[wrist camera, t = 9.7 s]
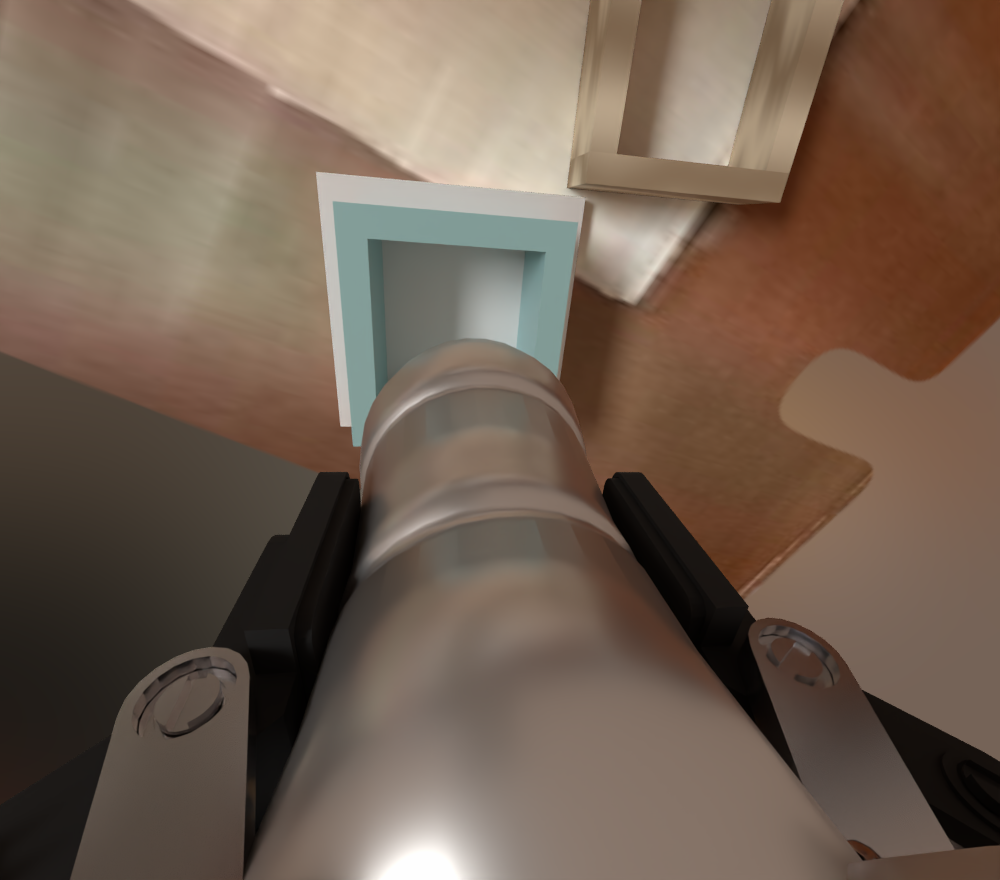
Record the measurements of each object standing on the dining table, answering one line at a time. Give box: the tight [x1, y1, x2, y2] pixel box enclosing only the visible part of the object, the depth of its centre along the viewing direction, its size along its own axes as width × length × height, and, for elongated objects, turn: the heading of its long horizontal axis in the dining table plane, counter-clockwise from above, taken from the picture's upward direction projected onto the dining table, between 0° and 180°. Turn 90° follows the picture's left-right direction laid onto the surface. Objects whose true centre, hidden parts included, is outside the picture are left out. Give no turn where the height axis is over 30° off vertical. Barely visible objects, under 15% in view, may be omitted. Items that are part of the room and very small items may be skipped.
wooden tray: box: [567, 0, 844, 205], centre depth 24 cm, size 13×12×4 cm
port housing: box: [316, 172, 586, 446], centre depth 27 cm, size 16×16×7 cm
